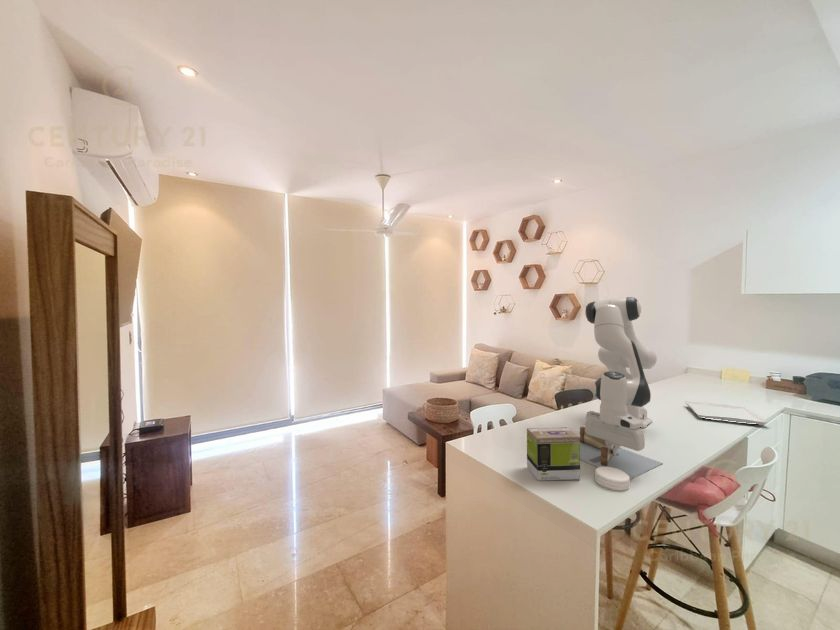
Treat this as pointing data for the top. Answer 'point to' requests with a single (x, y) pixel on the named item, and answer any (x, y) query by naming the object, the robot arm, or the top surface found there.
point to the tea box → (553, 453)
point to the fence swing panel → (605, 455)
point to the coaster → (612, 478)
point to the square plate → (760, 420)
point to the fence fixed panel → (591, 439)
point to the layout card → (618, 460)
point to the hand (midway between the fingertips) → (612, 454)
